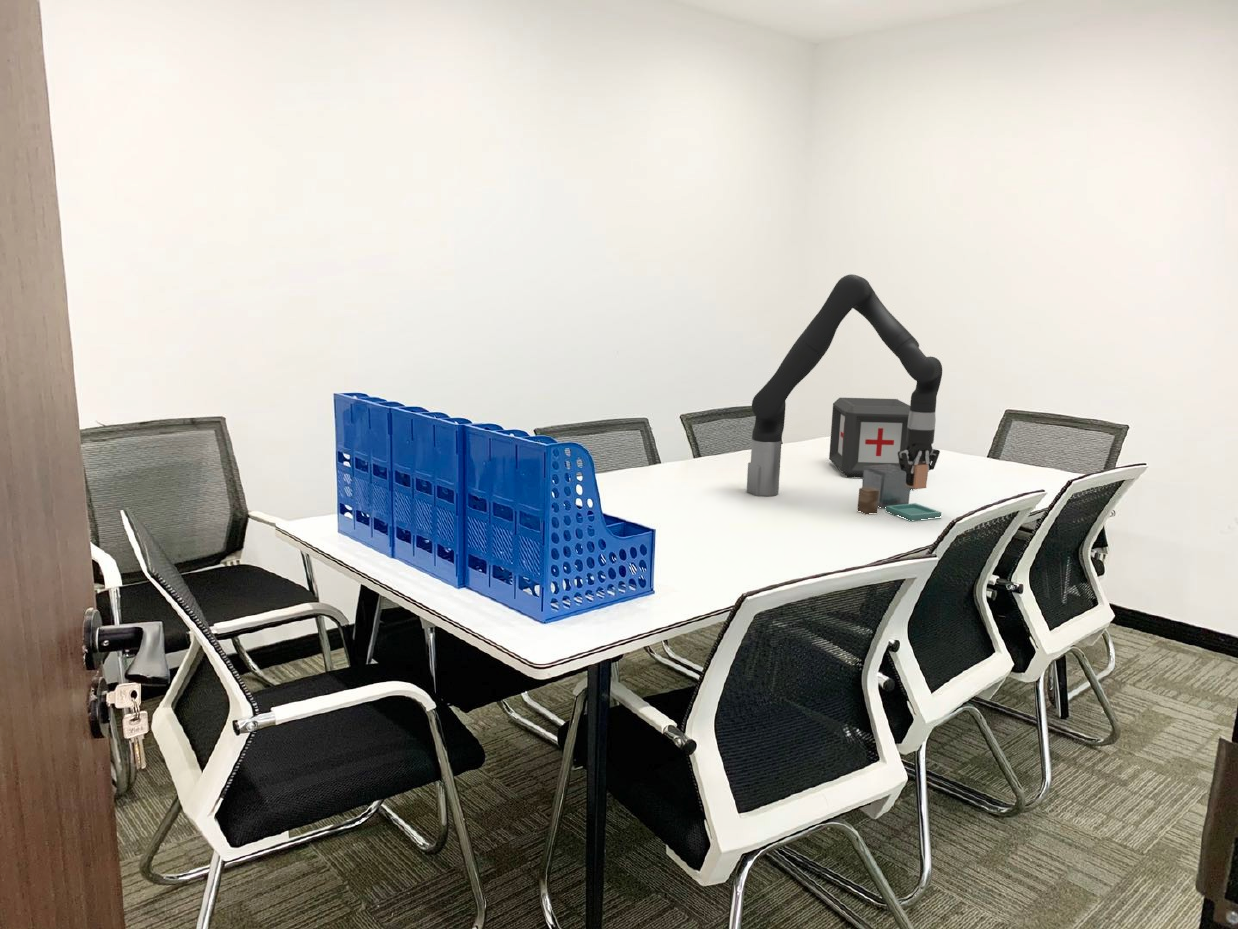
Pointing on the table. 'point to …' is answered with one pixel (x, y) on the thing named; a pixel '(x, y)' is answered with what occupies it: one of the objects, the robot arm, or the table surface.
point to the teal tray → (913, 511)
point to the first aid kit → (867, 433)
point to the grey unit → (887, 484)
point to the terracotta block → (920, 476)
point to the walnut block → (868, 500)
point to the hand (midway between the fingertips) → (916, 484)
